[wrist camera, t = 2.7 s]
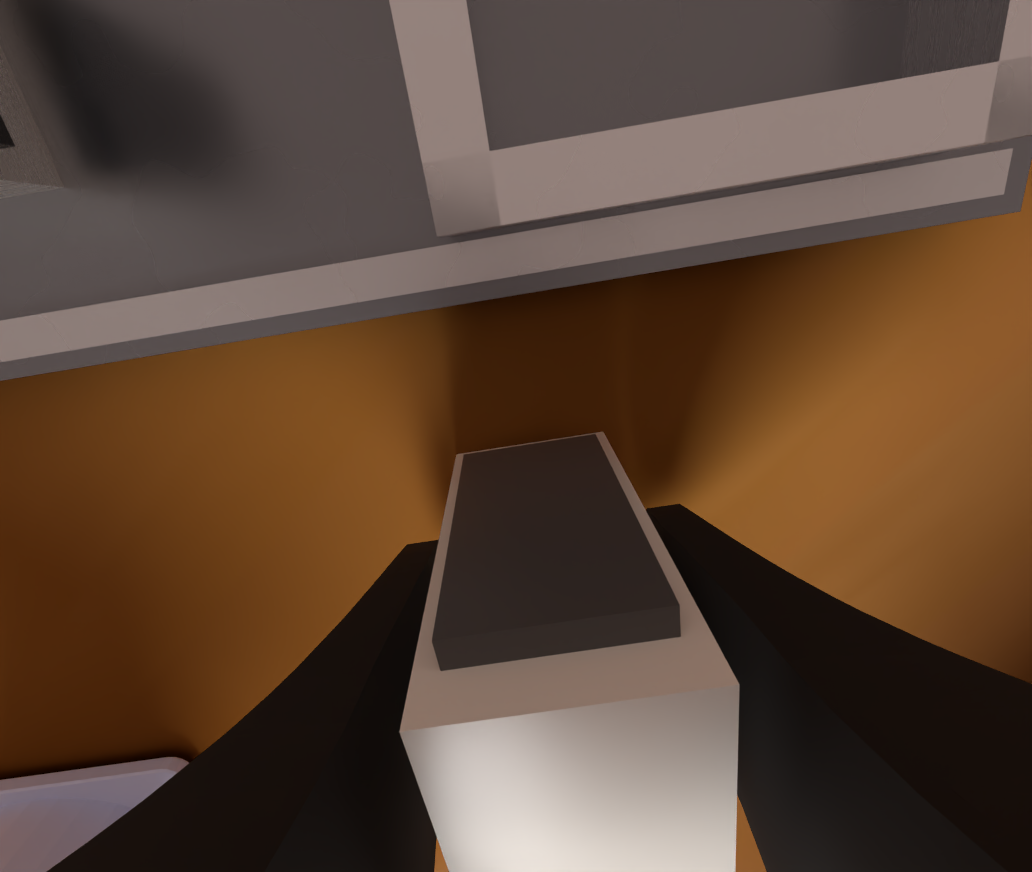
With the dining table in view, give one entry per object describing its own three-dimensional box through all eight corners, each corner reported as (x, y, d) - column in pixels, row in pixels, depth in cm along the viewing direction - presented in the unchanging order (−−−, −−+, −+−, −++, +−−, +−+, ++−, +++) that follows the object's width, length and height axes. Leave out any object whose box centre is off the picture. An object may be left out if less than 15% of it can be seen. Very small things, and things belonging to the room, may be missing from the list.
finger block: (490, 608, 11) (481, 962, 6) (452, 436, 10) (388, 698, 4) (618, 589, 11) (734, 931, 6) (601, 412, 10) (740, 649, 4)
